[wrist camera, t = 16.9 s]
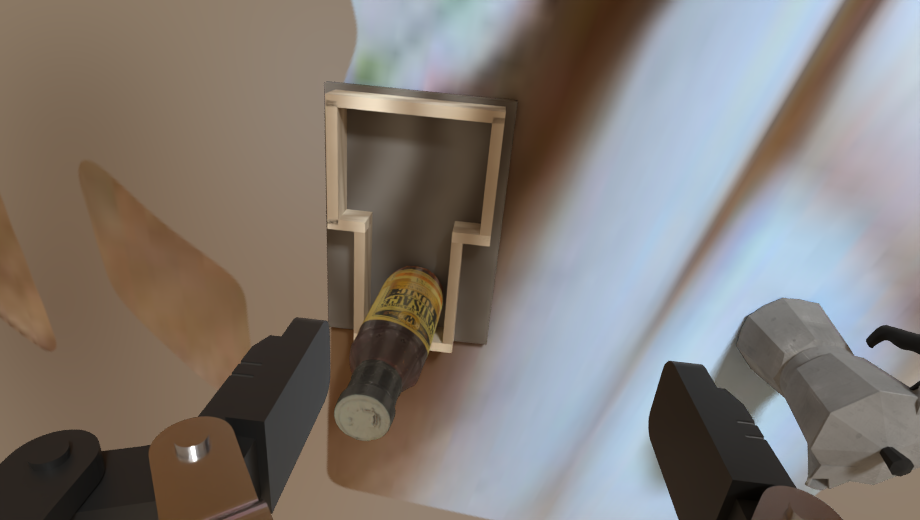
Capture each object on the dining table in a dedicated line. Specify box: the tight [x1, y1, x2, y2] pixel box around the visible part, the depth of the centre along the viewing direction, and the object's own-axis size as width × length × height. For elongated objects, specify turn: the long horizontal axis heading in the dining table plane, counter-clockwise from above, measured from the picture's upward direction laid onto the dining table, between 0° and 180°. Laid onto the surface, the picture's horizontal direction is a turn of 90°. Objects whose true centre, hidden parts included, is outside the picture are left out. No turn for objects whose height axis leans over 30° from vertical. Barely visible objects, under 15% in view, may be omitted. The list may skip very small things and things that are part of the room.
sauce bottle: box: [334, 266, 443, 441], centre depth 45 cm, size 6×6×20 cm
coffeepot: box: [736, 298, 920, 490], centre depth 46 cm, size 15×9×18 cm, turn 149°
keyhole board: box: [324, 81, 518, 353], centre depth 50 cm, size 17×25×4 cm
